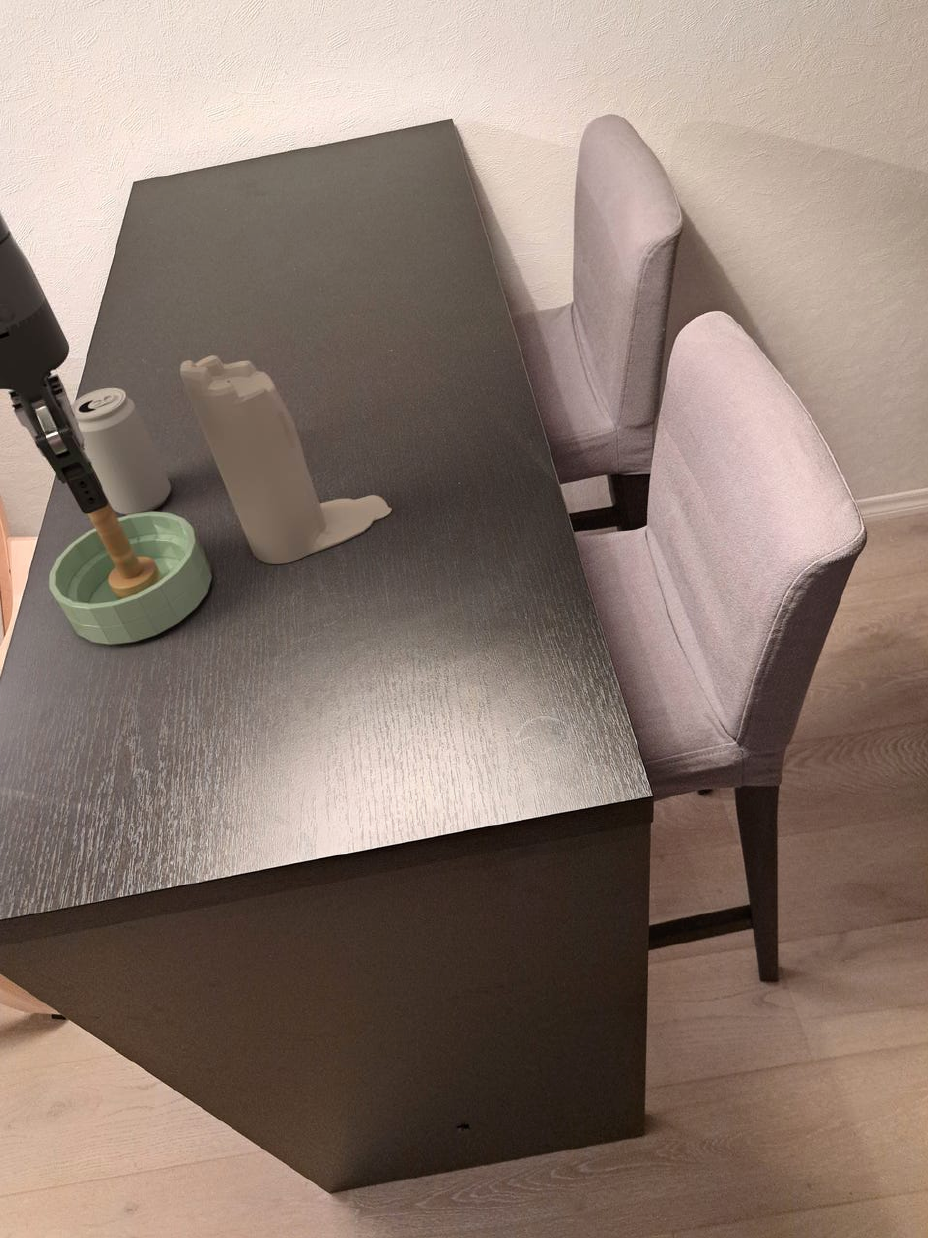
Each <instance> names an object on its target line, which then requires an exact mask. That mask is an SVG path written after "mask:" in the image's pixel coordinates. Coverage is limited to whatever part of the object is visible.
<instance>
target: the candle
mask: <svg viewBox="0 0 928 1238" xmlns="http://www.w3.org/2000/svg"><path fill="white" fill-rule="evenodd" d="M179 374H180V378H181V380H182V383H183V385H184V387H185V390H186V392H187V395H188V397H189V400H190V403H191V405H192V407H193V409H194V412H195V415H196V418H197V419H198V420H197V421H198V422H199V425H200V427H201V429H202V432H203V435H204V437H205V439H206V442H207V444H208V446H209V449H210V452H211V454H212V456H213V459H214V461H215V464H216V466H217V470H218V471H219V474H220V476H221V478H222V481H223V483H224V486H225V488H226V491H227V493H228V496H229V498H230V501H231V503H232V505H233V508H234V510H235V513H236V516H237V518H238V520H239V522H240V523H239V524H240V525H241V527H242V530H243V532H244V535H245V538H246V539H247V543H248V544H249V547H250V550H251V552H252V554H253V557H255V558H256V559H257V560H259V561H260V562H262V563H266V564H271V565H281V564H289V563H292V562H295V561H298V560H300V559H304V558H305V557H308V556H309V555H310V556H311V555H312V554H315V553H318V552H321V551H323V550H326V549H329V548H331V547H334V546H336V545H340V544H341V543H344V542H346V541H348V540H350V539H352V538H354V537H357V536H358V535H361V534H363V533H365V532H366V531H367V530H368V529H369V528H370V527H371V526H372V525H373V523H374V521H378V520H380V519H383V518H384V517H387V516H388V515H390V513H391V512H392V507H389V506H388V504H387V502H386V501H385V499H383V498H382V497H380V496H378V495H375V494H371V495H367V496H364V497H360V498H357V499H352V498H337V499H333V500H329V501H325V502H321V503H320V502H319V498H318V495H317V492H316V488H315V486H314V483H313V480H312V477H311V474H310V472H309V469H308V465H307V463H306V462H307V461H306V459H305V454H304V449H303V447H302V444H301V440H300V437H299V434H298V431H297V428H296V426H295V423H294V420H293V418H292V415H291V414H290V411H289V410H288V408H287V406H286V404H285V403H284V400H283V399H282V397H281V395H280V394H279V393H280V392H278V389H277V387H276V385H275V383H274V381H273V380H272V378H271V377H270V376H269V375H268V374H267V373H266V372H264V371H260V370H257V368H256V366H255V364H254V363H252V361H250V360H240V361H236V362H232V363H223V362H222V360H221V359H220V357H219V356H218V355H212V354H211V355H209V356H206V357H204V358H202V359H200V360H199V361H197V362H196V363H195V362H194V361H193V360H190V359H187V360H184V361H183V362H181V364H180V369H179Z"/></svg>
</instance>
